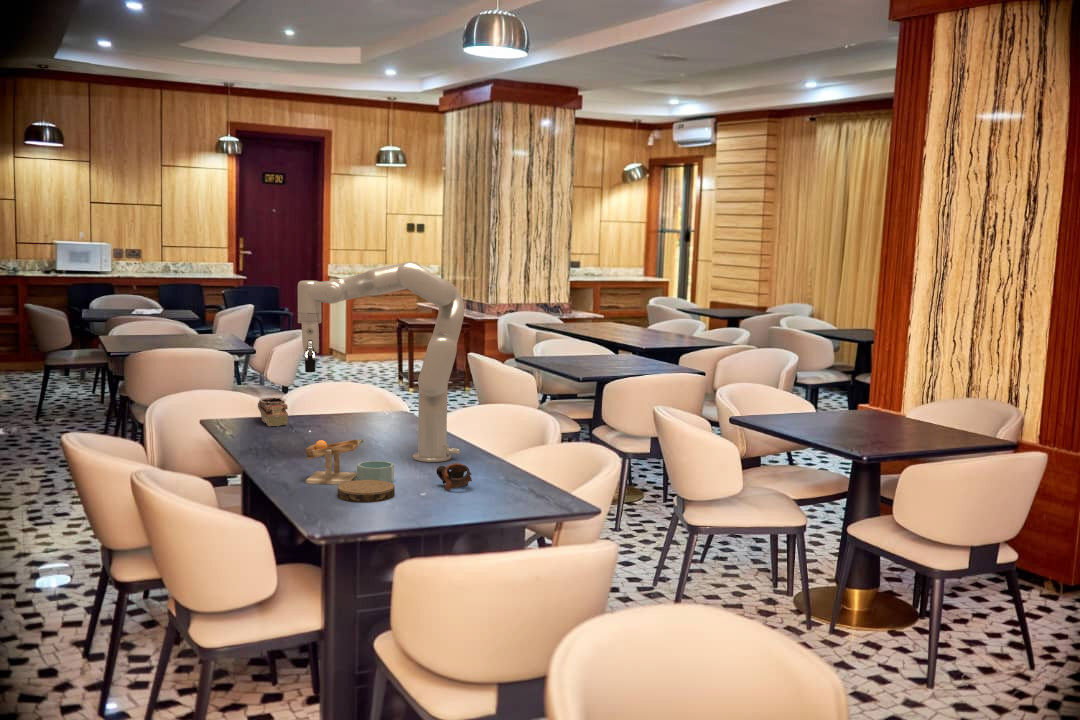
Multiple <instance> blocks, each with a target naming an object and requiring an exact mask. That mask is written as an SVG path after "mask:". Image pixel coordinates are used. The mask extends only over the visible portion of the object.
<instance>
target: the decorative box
mask: <svg viewBox="0 0 1080 720" xmlns="http://www.w3.org/2000/svg"><path fill="white" fill-rule="evenodd" d="M286 401H287V400H286V399H285V398H282V397H263V398H259V400H258V402H257V408H258V410H259V412H260V416H261V421H262V422H263V423H264V424H265V423H266V424H265V425H266V426H267V427H276V426H278V427H280V426H286V425H287V424H288V420H289V414H288V412H287V410H288V403H286Z"/></svg>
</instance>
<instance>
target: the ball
mask: <svg viewBox="0 0 1080 720" xmlns="http://www.w3.org/2000/svg"><path fill="white" fill-rule="evenodd" d="M314 444H315V448H316V450H318V449H324V448H327V445H328V443H327V442H326V441H325V440H323V439H320V440H318V441H316V442H315V443H314Z"/></svg>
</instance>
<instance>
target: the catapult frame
mask: <svg viewBox="0 0 1080 720" xmlns="http://www.w3.org/2000/svg"><path fill="white" fill-rule="evenodd" d="M332 456H333V457H332ZM324 457H325V460H324V461H325V463H324V464H325V466H324V467H325V470H324V471H322V470H321V471H320V470H316V471H314V473H313V474H311V475H310V476H309V477H308V478H306V479H305V484H312V485H313V484H314V485H315V484H316V485H317V484H319V485H339V484H342V483H344V482H349V481H355V480H357V472H349V471H347V472H345V471H341V469H340V468H341V467H340V466H341V465H340V463H341V460H340V459H341V453H337V454H332V450H325V456H324ZM332 459H333V460H332ZM332 461H333V462H332ZM332 463H333V465H332ZM332 467H333V471H332Z"/></svg>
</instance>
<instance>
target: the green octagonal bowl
mask: <svg viewBox="0 0 1080 720" xmlns="http://www.w3.org/2000/svg"><path fill="white" fill-rule="evenodd" d="M356 473H357V478H356V480H381V481H386V482H390V483H392V484H393V482H394V481H395V463H393V462H389V461H386V460H368V461H361V462H359V463H358V464H356Z"/></svg>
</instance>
